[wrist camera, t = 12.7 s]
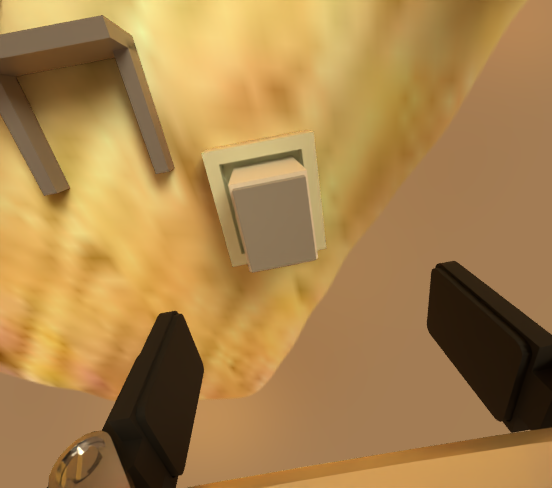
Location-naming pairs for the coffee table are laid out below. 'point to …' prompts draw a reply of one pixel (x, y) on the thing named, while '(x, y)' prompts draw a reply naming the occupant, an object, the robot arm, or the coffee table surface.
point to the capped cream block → (274, 213)
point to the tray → (230, 156)
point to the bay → (62, 53)
